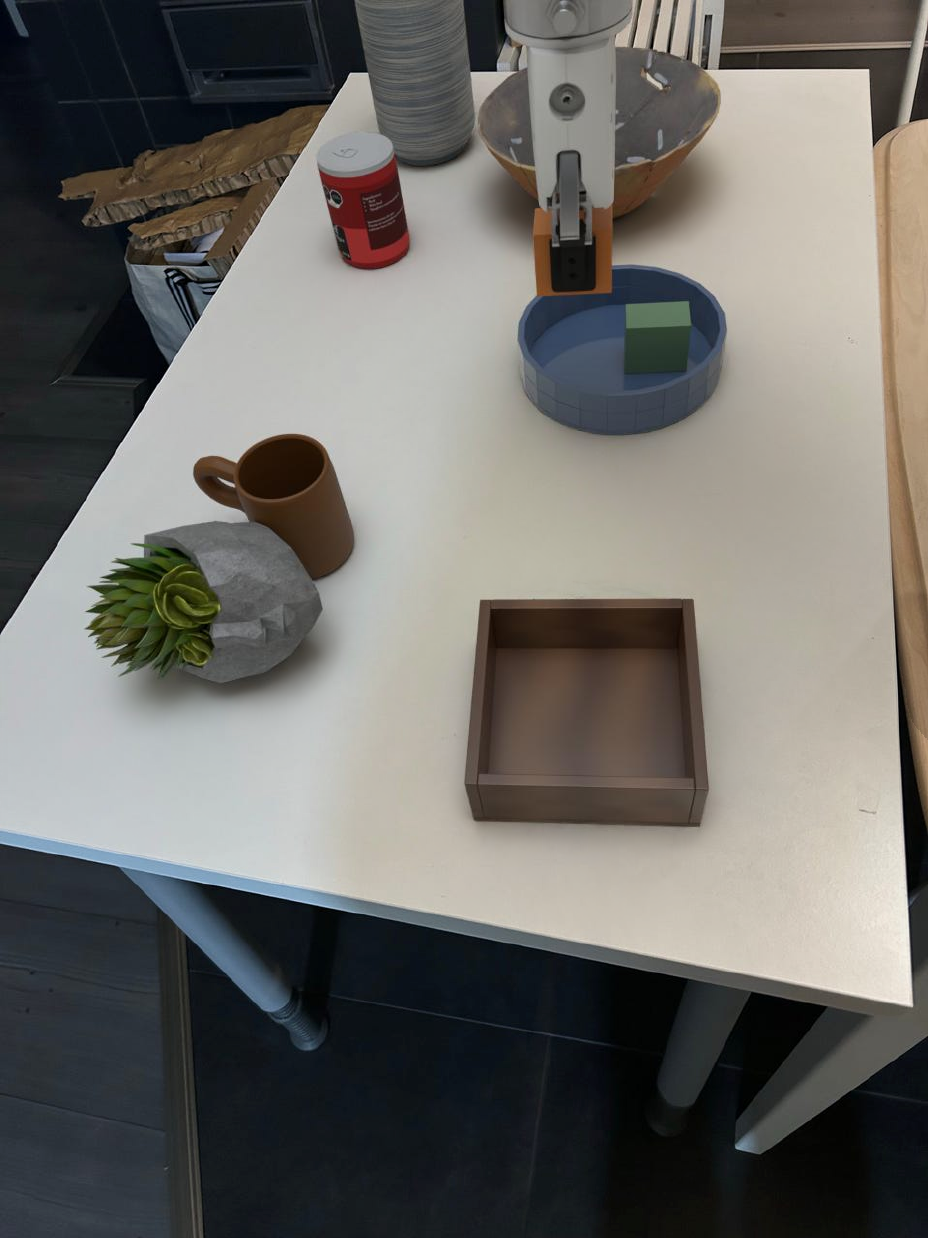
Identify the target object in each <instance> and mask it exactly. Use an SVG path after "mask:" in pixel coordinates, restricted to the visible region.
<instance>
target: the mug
mask: <svg viewBox="0 0 928 1238" xmlns="http://www.w3.org/2000/svg"><path fill="white" fill-rule="evenodd" d="M192 475H193V479H194V481H195V484H196V485H197V486H198V489H200V491H202V493H204V494H205V496H207V497H209V499H211V500H212V501H214V502H215V503H218V504H220V505H222V506H224V507H228V508H230V509H234V510H235V509H236V510H239V511H240V512H242V513H244V515H245V516H246V519H247V521H248V522H253V521H254V522H256V523H259V524H261V525H264V526H266V527H268V528H270V529H271V530H272V531H273V532H274V533H275V534H276V535H277V536H279V537H280V538H281V539H282V540H283V541H284V542H285V543H286V544H287V545H289V546H290V547H291V548H292V549H293V551H294V553H295V554H296V556H297V557H298V559H299V560H300V562H301V563H302V565H303V567H304V568H305V570H306V571H307V573H308V575H309V576H310V578H311V580H312V579H317V578H320V577H324V576H326V575H329V574H330V573H332V572H333V571H335V570H336V569H338V568H340V566H341V565H342V564H343V563H344V562H345V561H346V560H347V558H348V557H349V555H350V554H351V551H352V549H353V546H354V540H355V533H354V528H353V527H354V526H353V524H352V523H353V522H352V519H351V517H350V514H349V510H348V508H347V503H346V500H345V498H344V494H343V492H342V487H341V485H340V482H339V478H338V475H337V472H336V469H335V466H334V464H333V462H332V460H331V458H330V455H329V453H328V451H327V449H326V448H325V446H324V445H323V444H322V443H321V442H320V441H318V440H317V439H315V438H313V437H311V436H309V435H305V434H300V433H283V434H277V435H273V436H270V437H269V436H268V437H267V438H265V439H262V440H260V441H258V442H256V443H255V444H253V445H252V446H250V447H249V448H248V449H247V450H246V451H244V453H243V454H242V455H241V456H240V458H239V459H238V461H237V462H235V461H234V460H230V459H228V458H225V457H223V456H220V455H208V456H203V457H200V458H199V459H198V460H197V461H196V462H195V463H194V465H193V469H192ZM222 480H223V481H225V482H228V483H229V484H233V485H234V486H231V485H229V484H226V483H225V482H223V481H222Z"/></svg>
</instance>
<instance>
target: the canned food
mask: <svg viewBox="0 0 928 1238" xmlns="http://www.w3.org/2000/svg"><path fill="white" fill-rule="evenodd" d="M315 158H316V164H317V170H318V173H319V178H320V182H321V186H322V190H323V195H324V198H325V202H326V206H327V209H328V215H329V217H330V222H331V226H332V229H333V234H334V237H335V241H336V245H337V249H338V252H339V254H340V256H341V257H342V259H343V260H344V261H345V262H346V263H347V264H349V265H350V266H353V267H354V268H359V269H367V270H371V269H373V270H374V269H380V268H385V267H387V266H390V265H392V264H393V265H394V264H395V263H397V262H398V261H399V260H400V259H402V258H403V257H404V256H405V255H406V254H407V252H408V250H409V247H410V231H409V227H408V221H407V216H406V215H407V214H406V208H405V203H404V198H403V192H402V186H401V180H400V174H399V168H398V162H397V156H396V154H395V152H394V148H393V144H392V142H391V140H389V139H388V138H387V137H385V136H384V135H381V134H379V132H378V133H377V132H371V131H370V132H369V131H362V132H361V131H358V132H357V131H356V132H350V133H345V134H342V135H339V136H337V137H334V138H332V139H330V140H328V141H327V142H325V143H324V144H322V146H321V147H320V148H319V149H318V150H317V152H316V157H315Z"/></svg>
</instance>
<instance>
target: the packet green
mask: <svg viewBox="0 0 928 1238" xmlns="http://www.w3.org/2000/svg"><path fill="white" fill-rule="evenodd" d="M690 332H691V319H690V309H689V301H682V302H661V303H641V304H626V305H625V333H624V366H625V374H632V373H658V372H684V371H687V362H688V352H689V342H690Z"/></svg>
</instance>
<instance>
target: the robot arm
mask: <svg viewBox="0 0 928 1238" xmlns="http://www.w3.org/2000/svg"><path fill="white" fill-rule="evenodd" d="M502 3H503V12H504V13H503V15H504V28H505V32H506V34H507V35H508V37H509V38H510V39H511V40H512V41H514V42H515V43H517V44H520V45H523V46H525V49H526V51H525V53H526V65H527V66H526V67H527V70H528V86H529V101H530V115H531V129H532V141H533V152H534V162H535V172H536V181H537V190H538V199H539V200H538V204H539V208H542V209H543V210H544V211H546V212H548V211H549V208H550V209H551V229H552V239H550V241H549V246H550V267H551V287H552V290H553V291H554V292H579V291H592V290H594V289H595V288H596V236H592V205H593V206H594V208H601V207H604V209H607V208H609V207H610V206H611V204H612V203H613V200H614V166H615V114H616V52H615V47H616V35H618V34H619V33H621V32H623V31H624V30H625V29H626V28H627V26H628V25H629V24H631V22H632V18H633V3H634V1H633V0H503V2H502ZM579 210H584V221H583V219H579ZM559 212H560V217H559Z"/></svg>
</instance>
